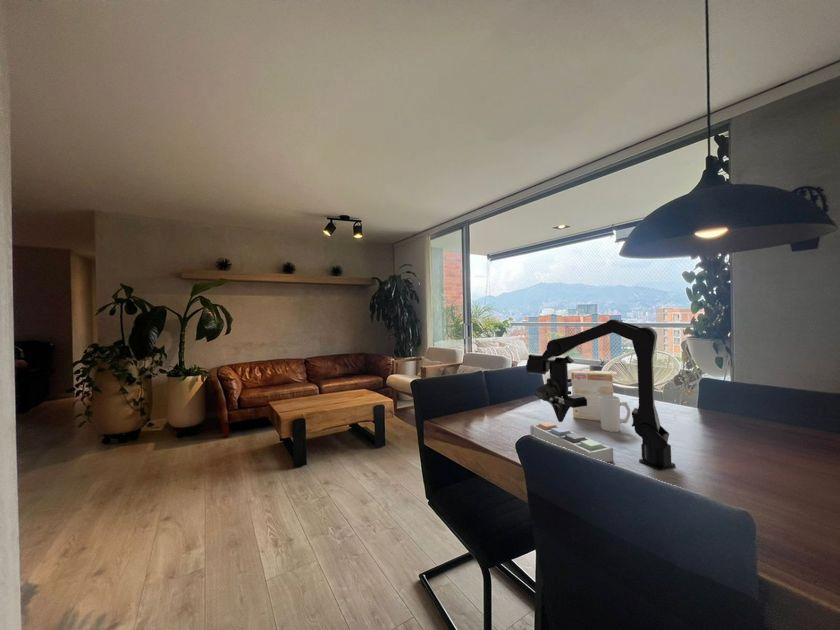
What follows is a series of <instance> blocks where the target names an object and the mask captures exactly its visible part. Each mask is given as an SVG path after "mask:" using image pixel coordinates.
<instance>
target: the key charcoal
mask: <svg viewBox="0 0 840 630" xmlns="http://www.w3.org/2000/svg"><path fill="white" fill-rule="evenodd" d="M585 437H586V436H584V435H581V434H579V433H576V432H574V433H571V434H566V435H565V440H567V441H569V442H571V443H573V444H574V443H579V442H580V441H585Z"/></svg>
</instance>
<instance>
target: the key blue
mask: <svg viewBox="0 0 840 630" xmlns="http://www.w3.org/2000/svg"><path fill="white" fill-rule="evenodd" d="M570 431H571V430H570V429H567V428H564V427H563V426H560V427H558V428H552V429H551V434H554V435H556V436H558V437H560V436H565V435H566V434H570Z"/></svg>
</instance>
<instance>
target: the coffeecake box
mask: <svg viewBox="0 0 840 630" xmlns="http://www.w3.org/2000/svg"><path fill="white" fill-rule="evenodd" d="M613 382H614V379H613V371H609V370H608V371H607V370H588V369H587V370H585V369H583V370H582V369H581V370H580V369H573V370H572V371H571V390H572V391H571V395H580V396H583V397H585V398H586V399H587V406H582V407H576V408H572V418H573V419H579V420H580V419H581V420H589V421H597V422H601V418H600V401H599V396H602V395H610V396H614V384H613Z"/></svg>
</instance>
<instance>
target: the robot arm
mask: <svg viewBox="0 0 840 630" xmlns="http://www.w3.org/2000/svg"><path fill="white" fill-rule="evenodd" d="M610 334H616V335H618V336H620V337H621V338H625V339H627V340H630V341H631V342H632V346H633V350H634V352H635V355H636V359H637V360H636V363H637V364H636V365H637V385H638V386H637V389H638V390H637V391H638V392H637V393H638V394H637V395H638V407H634V408H633V410H632V411H631V417H632V424H631V427H634V431H635V434H637V435H638V436H639V437H641V439H642V442H641V444H640V446H641V458H639V459H638V461H639V463H642V464H645V465H647V466H650V467H652V468H654V469H657V470H658V471H662V470H665V469H670V468H673V467H676V464H675V463H673V462H672V445H671V444H669V443H668V441H669V437H670V432H668V431H667V430H666V429H665V428H664V427H663V426H662V425H661V421H660V417H659V414H658V411H657V407H656V404H655V383H654V382H655V381H654V380H655V379H654V377H655V375H654V355H655V351H656V346H657V342H658V341H657V340H658V333H657V330H655V329H654V328H653V327H650V326H646V325H645V326H641V327H639V326H637V325H634V324H631V323H628V322H627V323H626V322H623V321H621V320H619V319H616V318H614V319H609V320H607V321H606V322H604V323H602V324H601V323H600V324H598V325H596V326H593V327H591V328H588V329H586V330H583V331H581V332H577V333H576V334H573V335H569V336H568V335H567V336H563V337H559V338H554V339H550V340H549V341H548V342H547V345H546V349H545V351H544V352H543V354H532V353H530V354H528V356H527V357H528V358H527V362H526V364H525V368H526V372H527V373H528V374H529V375H530V374H531V375H532V374H533V375H543V376H544V375H547V373H549V377H548V378H547V377H546V383H545V384H542V385H540V386H539V387H536V388H535V389H534V396H535V397H537V399H538V400H542V401H543V402H547V403H549V405H550V406H551V407H552V409H553V411H554V414H555V416H556V419H557V421H558V422H559V423H563V421H564V419H565V418H566V415H567V413H568V411H569V410H570V408H572V409H573V408H576V407H582V406H587V399H586V398H585V397H583V396H580V395H572V391H571V390H569V383H572V378H569V373H568V372H569V371H568V365H569V364H573V363H574V362H575V361H574V359H573V358H571V357H570V356H569V355H566V354H567V353H569V352H571V351H572V350H574V349H576V348H577V347H578V346H580V345H581V346H582V345H583V344H586V343H589V342H592V341H595V340H596V339H599V338H601V337H604V336H607V335H610ZM563 355H566V356H565V357H560V356H563ZM554 357H555V358H554ZM552 358H554V359H552Z"/></svg>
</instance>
